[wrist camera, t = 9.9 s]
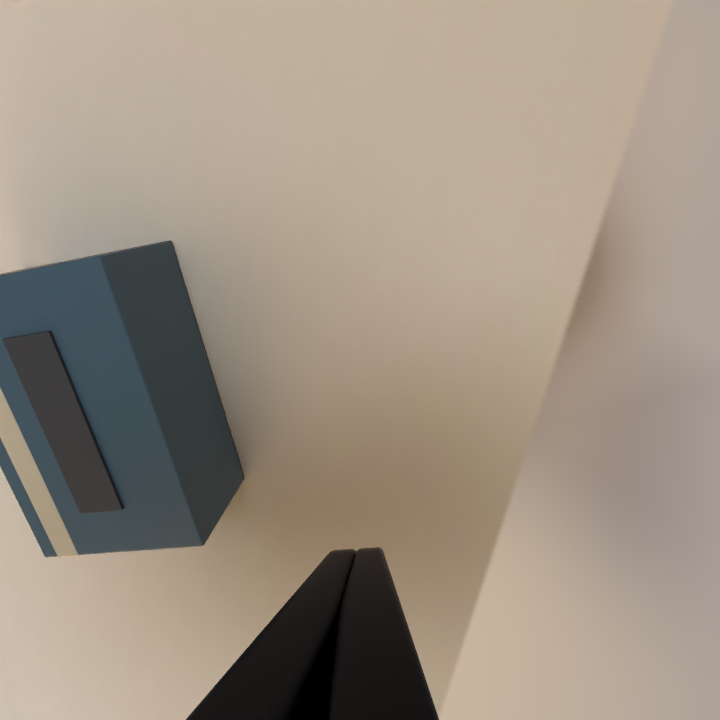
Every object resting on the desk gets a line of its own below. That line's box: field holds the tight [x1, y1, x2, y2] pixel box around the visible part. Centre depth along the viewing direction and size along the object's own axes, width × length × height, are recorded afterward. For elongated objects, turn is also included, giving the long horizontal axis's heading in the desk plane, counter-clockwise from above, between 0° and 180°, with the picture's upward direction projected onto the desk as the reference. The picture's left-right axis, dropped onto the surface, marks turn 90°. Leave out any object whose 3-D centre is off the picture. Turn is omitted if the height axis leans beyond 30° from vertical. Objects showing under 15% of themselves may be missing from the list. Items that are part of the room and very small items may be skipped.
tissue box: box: [0, 241, 244, 557], centre depth 19 cm, size 11×5×7 cm
